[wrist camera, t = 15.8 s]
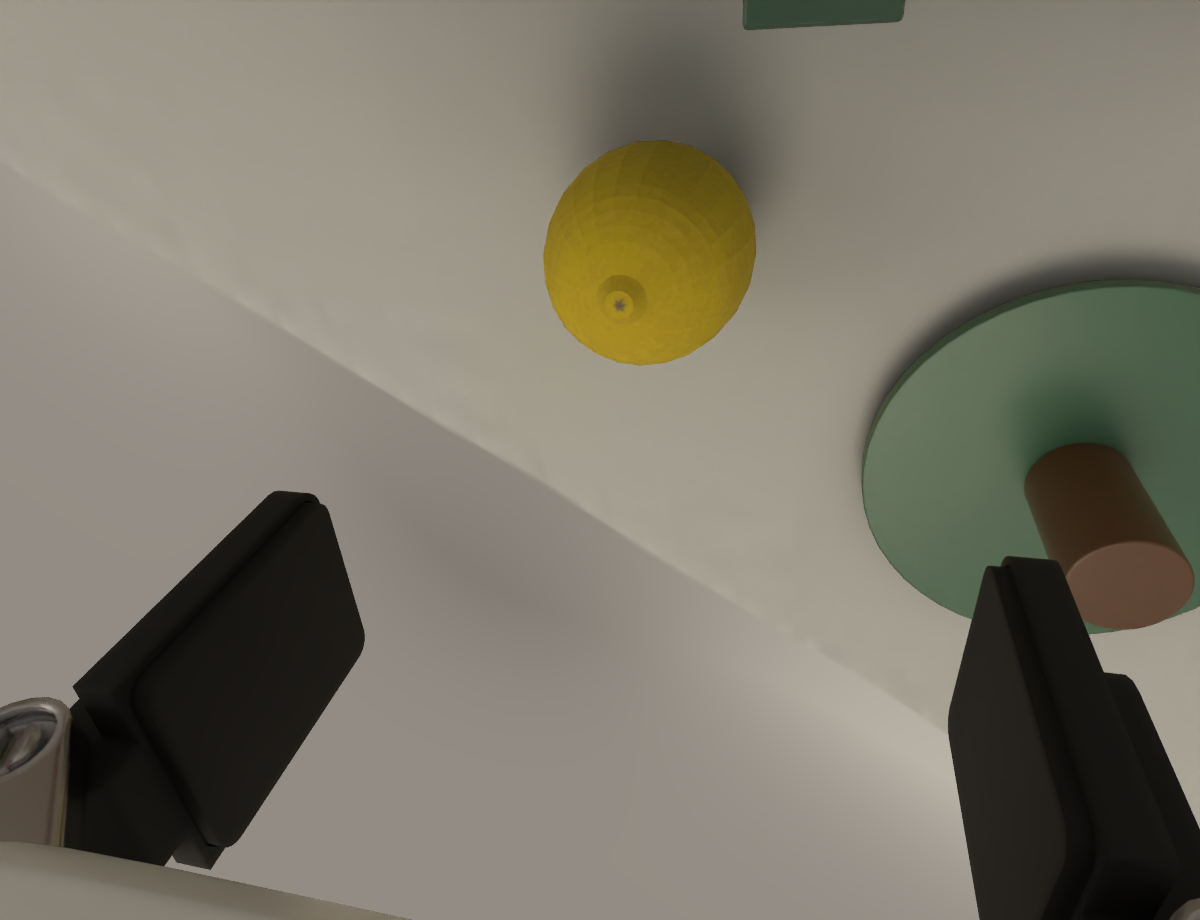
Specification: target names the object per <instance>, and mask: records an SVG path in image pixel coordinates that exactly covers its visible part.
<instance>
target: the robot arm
mask: <svg viewBox="0 0 1200 920" xmlns="http://www.w3.org/2000/svg"><path fill="white" fill-rule="evenodd" d="M364 641H365V634H364V629H363V625H362V622H361V619H360V615H359V612H358V609H357V605H356V602H355V599H354V595H353V592H352V588H351V585H350V582H349V578H348V575H347V572H346V568H345V565H344V562H343V558H342V555H341V551H340V548H339V545H338V542H337V538H336V535H335V531H334V528H333V524H332V521H331V518H330V514H329V511H328V509H327V508H326V506H325V505H323V504H320V502H319V500H318V499H317V497H316V496H315V495H313V494H310V493H299V492H288V491H275V492H273V493H271V494H270V495H268V496H267V497H266V498H265V499H264V500H263V501H262V502H261V503H260V504H259V505H258V506H257V507H256V508H255V509H254V510H253V511H252V512H251V513H250V514H249V515H248V516H247V517H246V518H245V519H244V520H243V521H242V522H241V523H240V524H239V525H238V526H236V528H234V529H233V530H232V531H231V532H230V533H229V534H228V535H227V536H226V537H225V538H224V539H223V540H222V541H221V542H220V543H219V544H218V545H217V546H216V547H215V548H214V549H213V550H212V551H211V552H210V553H209V554H208V555H207V556H206V557H205V558H204V559H203V560H202V561H201V562H200V563H199V564H198V565H197V566H195V567H194V568H193V570H191V571H190V573H188V574H187V575H186V576H185V577H184V578H183V579H182V580H181V581H180V582H179V583H178V584H177V585H176V586H175V587H174V588H173V589H172V590H171V591H170V592H169V593H168V594H167V595H166V596H165V597H164V598H163V599H162V600H161V601H160V602H159V603H158V604H157V605H156V606H154V608H152V609H151V610H150V611H149V612H148V613H147V614H146V615H145V616H144V617H143V618H142V619H141V620H140V621H139V622H138V623H137V624H136V625H135V626H134V627H133V628H132V629H131V630H130V631H129V632H128V633H127V634H126V635H125V636H124V637H123V638H122V639H121V640H120V641H119V642H118V643H117V644H116V645H115V646H114V647H112V648H111V649H110V651H108V652H107V653H106V654H105V655H104V656H103V657H102V658H101V659H100V660H99V661H98V662H97V663H96V664H95V665H94V666H93V667H92V668H91V669H90V670H89V671H88V672H87V673H86V674H85V675H84V676H83V677H82V678H81V679H80V680H79V681H78V682H77V683H76V684H75V685H74V686H73V688H74V690H75V692H76V693H77V695H78V697H79V698H80V699H79V700H78V701H77V702H76V703H75V704H74V705H73V706H72V707H71V708H70V709H69V708H68V707H67V706H66V705H65V704H64V703H63V702H62V701H60V700H56V699H53V698H49V697H46V698H45V697H44V698H43V697H42V698H30V699H25V700H21V701H18V702H13V703H10V704H8V705H6V706H4V707H1V708H0V920H411V919H406V918H402V917H397V916H393V915H388V914H383V913H379V912H374V911H370V910H365V909H360V908H355V907H351V906H346V905H342V904H338V903H333V902H328V901H323V900H319V899H314V898H310V897H305V896H300V895H296V894H291V893H286V892H281V891H277V890H272V889H267V888H263V887H258V886H253V885H248V884H244V883H239V882H235V881H230V880H225V879H220V878H215V877H211V876H206V875H202V874H197V873H192V872H187V871H183V870H178V869H173V868H169V867H164V866H165V864H166V863H167V861H168V860H169V859H170V857H171V856H173V857H174V859H175V860H176V862H177V863H182V864H187V865H191V866H196V867H200V868H205V869H210V870H211V868H212V867H213V865H214V864H215V862H216V860H217V859H218V857H219V856H220V855H221V853H222V852H223V850H224V849H225V847H229V846H232V845H233V844H234V843H236V842H237V841H238V840H239V838H240V837H241V836H242V834H243V833H244V831H245V830H246V828H247V826H248V825H249V824H250V822H251V821H252V819H253V817H254V816H255V815H256V813H257V811H258V810H259V808H260V807H261V805H262V804H263V802H264V801H265V799H266V798H267V796H268V795H269V793H270V792H271V790H272V789H273V787H274V785H275V784H276V782H277V781H278V780H279V778H280V777H281V775H282V773H283V772H284V770H285V769H286V767H287V765H288V764H289V763H290V761H291V760H292V758H293V757H294V755H295V754H296V752H297V751H298V749H299V748H300V746H301V744H302V743H303V742H304V740H305V738H306V737H307V735H308V734H309V732H310V731H311V729H312V728H313V726H314V725H315V723H316V722H317V720H318V719H319V717H320V716H321V714H322V712H323V711H324V710H325V708H326V706H327V705H328V703H329V702H330V700H331V699H332V697H333V696H334V694H335V692H336V691H337V690H338V688H339V687H340V685H341V684H342V682H343V681H344V679H345V678H346V676H347V675H348V673H349V672H350V670H351V668H352V667H353V665H354V664H355V662H356V661H357V659H358V658H359V656H360V654H361V652H362V650H363V646H364ZM948 734H949V741H950V747H951V753H952V759H953V765H954V771H955V776H956V783H957V789H958V794H959V800H960V806H961V812H962V818H963V824H964V830H965V836H966V841H967V848H968V854H969V859H970V865H971V871H972V877H973V883H974V889H975V895H976V901H977V907H978V912H979V918H980V920H1200V829H1199V826H1198V824H1197V822H1196V820H1195V817H1194V815H1193V813H1192V811H1191V808H1190V806H1189V804H1188V801H1187V799H1186V797H1185V795H1184V792H1183V790H1182V788H1181V786H1180V783H1179V781H1178V779H1177V777H1176V774H1175V772H1174V770H1173V767H1172V765H1171V763H1170V761H1169V758H1168V756H1167V754H1166V752H1165V749H1164V747H1163V745H1162V742H1161V740H1160V738H1159V736H1158V733H1157V731H1156V729H1155V727H1154V724H1153V722H1152V720H1151V717H1150V715H1149V713H1148V711H1147V708H1146V706H1145V704H1144V702H1143V699H1142V697H1141V695H1140V692H1139V691H1138V689H1137V687H1136V686H1135V684H1134V682H1133V681H1132V680H1131V679H1130V678H1129V677H1127V676H1126V675H1122V674H1113V673H1104V672H1103V669H1102V667H1101V664H1100V662H1099V659H1098V657H1097V654H1096V652H1095V650H1094V647H1093V645H1092V642H1091V640H1090V637H1089V635H1088V632H1087V630H1086V627H1085V625H1084V622H1083V620H1082V617H1081V615H1080V612H1079V610H1078V607H1077V605H1076V602H1075V600H1074V597H1073V595H1072V592H1071V590H1070V587H1069V585H1068V582H1067V580H1066V577H1065V575H1064V572H1063V570H1062V568H1061V566H1060V564H1059V562H1057V561H1056V560H1050V559H1039V558H1028V557H1017V556H1006V557H1005V558H1004V559H1003V561H1002V563H1001V566H987V567H986V569H985V572H984V575H983V578H982V582H981V586H980V590H979V594H978V598H977V602H976V606H975V610H974V614H973V618H972V622H971V626H970V630H969V634H968V638H967V641H966V645H965V649H964V653H963V657H962V661H961V665H960V669H959V673H958V677H957V681H956V685H955V689H954V693H953V697H952V701H951V705H950V709H949V716H948Z"/></svg>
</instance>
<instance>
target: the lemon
mask: <svg viewBox="0 0 1200 920" xmlns="http://www.w3.org/2000/svg"><path fill="white" fill-rule="evenodd" d="M755 257H756V244H755V225H754V221H753V218H752V215H751V212H750V208H749V205H748V202H747V199H746V197H745V195H744V194H743V192H742V191H741V189H740V187H739V186H738V184H737V183H736V181H735V180H734V178H733V176H732V175H731V174H730V173H729V172H728V171H727V170H726V169H724V168H723V167H722V166H721V165H720V164H719V163H718V162H717V161H716V160H715V159H714V158H712V157H710V156H709V155H707V154H705V153H703V152H701V151H699V150H697V149H695V148H693V147H692V146H689V145H684V144H679V143H675V142H670V141H666V140H662V141H643V142H635V143H632V144H629V145H626V146H623V147H620V148H617V149H614V150H611V151H609V152H608V153H606V154H605V155H603V156H602V157H600V158H599V159H597V160H596V161H594V162H593V163H591V164H590V165H589V166H587V167H586V168H584V169H583V171H582V172H581V173H580V174H579V175H578V176H577V178H576V179H575V180H574V181H573V182H572V183H571V185H570V186H569V187H568V188H567V189H566V191H565V192H564V193H563V195H562V197H561V199H560V201H559V203H558V205H557V208H556V210H555V212H554V214H553V216H552V218H551V220H550V223H549V227H548V233H547V238H546V244H545V249H544V271H545V283H546V286H547V289H548V292H549V296H550V299H551V302H552V305H553V308H554V309H555V311H556V313H557V315H558V316H559V318H560V320H561V321H562V323H563V325H564V326H565V327H566V328H567V329H568V330H569V332H570V333H571V334H572V335H573V336H574V337H575V338H576V339H577V340H578V341H579V342H580V343H582V344H583V345H585V346H586V347H588V348H589V349H591V350H592V351H593V352H595V353H596V354H598V355H600V356H603V357H606V358H608V359H611V360H614V361H616V362H619V363H627V364H634V365H648V364H659V363H666V362H669V361H672V360H675V359H677V358H680V357H683V356H686V355H688V354H690V353H692V352H693V351H695V350H696V349H698V348H699V347H701V346H702V345H703V344H705V343H706V342H708V341H709V340H711V339H712V338H713V337H715V335H716V334H717V333H718V332H719V331H720V330H721V329H722V328H723V327H724V325H725V324H726V323H727V322H728V321H729V320H730V319H731V318H732V316H733V315H734V314H735V312H736V311H737V309H738V307H739V305H740V303H741V301H742V299H743V297H744V295H745V293H746V291H747V289H748V287H749V285H750V281H751V276H752V271H753V267H754V262H755Z"/></svg>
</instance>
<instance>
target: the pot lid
mask: <svg viewBox="0 0 1200 920" xmlns="http://www.w3.org/2000/svg"><path fill="white" fill-rule="evenodd" d="M861 482H862V493H863V502H864V509H865V513H866V516H867V520H868V523H869V527H870V529H871V531H872V534H873V536H874V538H875V540H876V542H877V544H878V546H879V548H880V549H881V551H882V552H883V554H884V555H885V557H886V558H887V560H888V561H889V563H890V564H891V565H892V566H893V567H894V568H895V569H896V570H897V571H898V573H899V574H900V575H901V576H902V577H903V578H904V579H905V580H906V581H907V582H909V583H910V584H911V585H912V586H913V587H915V588H916V589H917V590H918V591H919V592H921V593H922V594H924V595H925V596H927V597H928V598H930V599H931V600H933V601H934V602H936V603H938V604H939V605H941V606H943V607H945V608H947V609H949V610H951V611H953V612H955V613H957V614H959V615H962V616H964V617H967V618H970V619H972V618H973V614H974V610H975V606H976V602H977V598H978V594H979V590H980V586H981V582H982V578H983V575H984V572H985V569H986V567H987V566H1001V563H1002V561H1003V559H1004V558H1005V557H1006V556H1017V557H1028V558H1039V559H1050V560H1056V561H1057V562H1059V564H1060V566H1061V568H1062V570H1063V572H1064V575H1065V577H1066V580H1067V582H1068V585H1069V587H1070V590H1071V592H1072V595H1073V597H1074V600H1075V602H1076V605H1077V607H1078V610H1079V612H1080V615H1081V617H1082V620H1083V622H1084V625H1085V627H1086V630H1087V632H1088V634H1096V633H1106V632H1114V631H1119V630H1127V629H1137V628H1142V627H1146V626H1150V625H1153V624H1156V623H1159V622H1161V621H1163V620H1165V619H1169V618H1171V617H1174V616H1177V615H1179V614H1182V613H1185V612H1187V611H1190V610H1193V609H1195V608H1197V607H1199V606H1200V289H1199V288H1195V287H1190V286H1185V285H1180V284H1175V283H1169V282H1163V281H1150V280H1137V279H1121V280H1096V281H1090V282H1083V283H1076V284H1069V285H1063V286H1059V287H1055V288H1051V289H1047V290H1043V291H1039V292H1036V293H1032V294H1028V295H1026V296H1023V297H1020V298H1018V299H1015V300H1012V301H1010V302H1007V303H1004V304H1002V305H999V306H997V307H995V308H993V309H991V310H989V311H987V312H985V313H983V314H981V315H979V316H977V317H975V318H973V319H971V320H969V321H968V322H966V323H964V324H963V325H961V326H960V327H958V328H957V329H955V330H954V331H952V332H950V333H949V334H947V335H946V336H944V337H943V338H942V339H941V340H939V341H938V342H937V343H936V344H934V345H933V346H932V347H931V348H929V349H928V350H927V351H926V352H925V353H923V354H922V355H921V356H920V357H919V358H918V359H917V360H916V361H915V362H914V363H913V364H912V365H911V366H910V367H909V368H908V370H907V371H906V372H905V373H904V374H903V375H902V376H901V377H900V379H899V380H898V381H897V383H896V384H895V385H894V387H893V388H892V389H891V391H890V392H889V393H888V395H887V396H886V398H885V400H884V402H883V404H882V405H881V407H880V409H879V411H878V413H877V414H876V416H875V418H874V421H873V424H872V426H871V429H870V432H869V434H868V437H867V441H866V445H865V450H864V455H863V459H862V479H861Z"/></svg>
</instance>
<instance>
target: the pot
mask: <svg viewBox="0 0 1200 920" xmlns="http://www.w3.org/2000/svg"><path fill="white" fill-rule="evenodd" d="M904 6H905V0H743V27H744V29H746V30H758V29H776V28H795V27H814V26H833V25H852V24H871V23H889V22H898V21H901V20H902V17H903V14H904Z"/></svg>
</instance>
